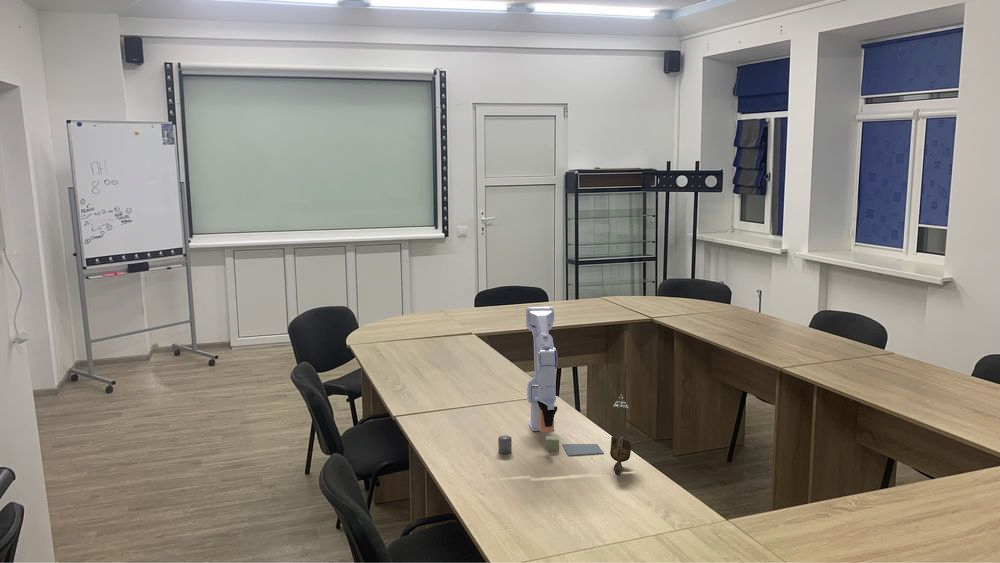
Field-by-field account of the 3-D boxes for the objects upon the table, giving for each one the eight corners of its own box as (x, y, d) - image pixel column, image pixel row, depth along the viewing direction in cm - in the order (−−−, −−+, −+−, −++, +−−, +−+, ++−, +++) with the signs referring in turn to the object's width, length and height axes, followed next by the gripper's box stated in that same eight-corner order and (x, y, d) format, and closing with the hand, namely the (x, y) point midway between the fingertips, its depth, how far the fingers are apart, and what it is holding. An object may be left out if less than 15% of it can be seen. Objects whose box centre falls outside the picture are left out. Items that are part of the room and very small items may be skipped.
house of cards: (635, 408, 291) (636, 390, 289) (634, 415, 282) (634, 396, 281) (612, 407, 293) (613, 388, 292) (610, 414, 284) (610, 395, 283)
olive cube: (545, 447, 249) (545, 436, 249) (556, 446, 250) (556, 435, 249) (547, 452, 245) (547, 440, 245) (559, 451, 246) (559, 439, 245)
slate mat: (559, 441, 255) (559, 440, 255) (592, 439, 257) (592, 438, 257) (568, 456, 241) (568, 454, 241) (603, 453, 243) (603, 452, 243)
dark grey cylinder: (497, 450, 247) (497, 435, 247) (510, 449, 248) (510, 435, 247) (499, 454, 243) (499, 440, 242) (512, 454, 244) (512, 439, 243)
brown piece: (629, 462, 236) (629, 432, 235) (638, 478, 223) (638, 446, 222) (607, 462, 236) (607, 432, 234) (614, 478, 223) (614, 447, 222)
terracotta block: (538, 427, 248) (538, 409, 247) (551, 426, 249) (551, 408, 248) (540, 432, 244) (540, 413, 243) (553, 431, 245) (553, 412, 244)
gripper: (531, 379, 251) (531, 417, 253) (538, 391, 237) (539, 432, 239) (551, 378, 252) (551, 416, 254) (560, 390, 238) (560, 430, 239)
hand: (547, 424), depth 246 cm, fingers closed on terracotta block, 4 cm apart
